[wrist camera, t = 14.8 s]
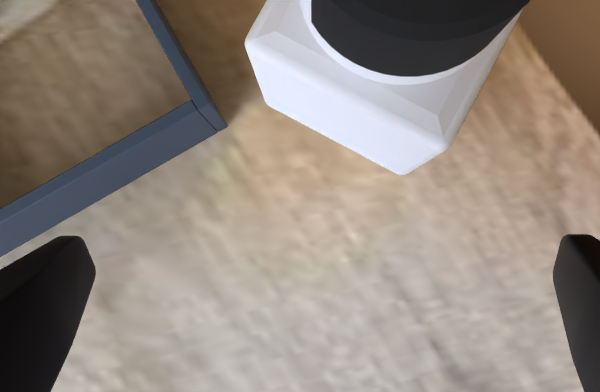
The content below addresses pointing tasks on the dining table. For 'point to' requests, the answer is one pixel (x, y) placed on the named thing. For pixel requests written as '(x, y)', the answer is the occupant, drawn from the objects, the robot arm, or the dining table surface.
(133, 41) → the dining table surface
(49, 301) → the robot arm
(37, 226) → the caddy
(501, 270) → the dining table surface
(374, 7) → the medicine bottle
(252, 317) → the dining table surface
